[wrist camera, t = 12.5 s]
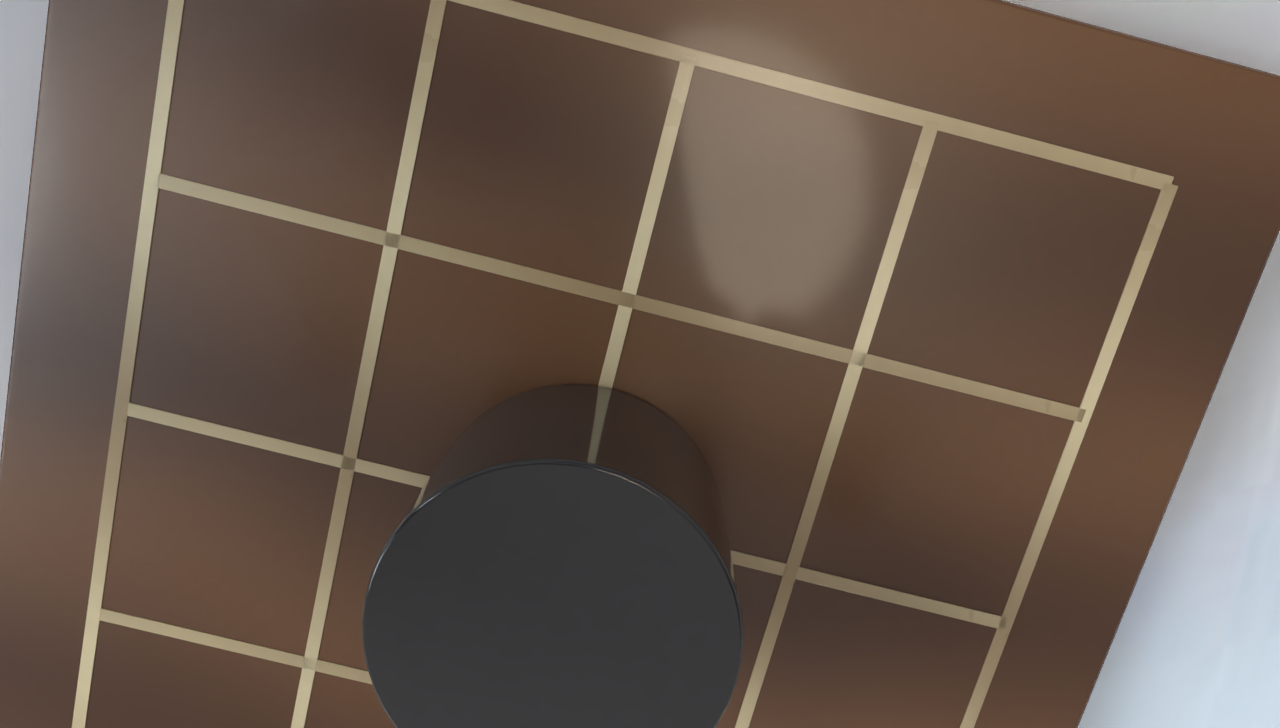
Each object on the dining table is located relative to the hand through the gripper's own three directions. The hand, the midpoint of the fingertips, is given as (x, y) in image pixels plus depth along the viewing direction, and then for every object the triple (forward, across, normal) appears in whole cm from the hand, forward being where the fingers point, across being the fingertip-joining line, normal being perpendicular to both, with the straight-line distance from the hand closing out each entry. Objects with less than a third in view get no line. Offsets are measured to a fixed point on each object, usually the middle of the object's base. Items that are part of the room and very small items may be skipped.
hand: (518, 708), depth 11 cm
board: (+8, 0, 0) cm, 8 cm away
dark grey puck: (+6, 0, 0) cm, 6 cm away
